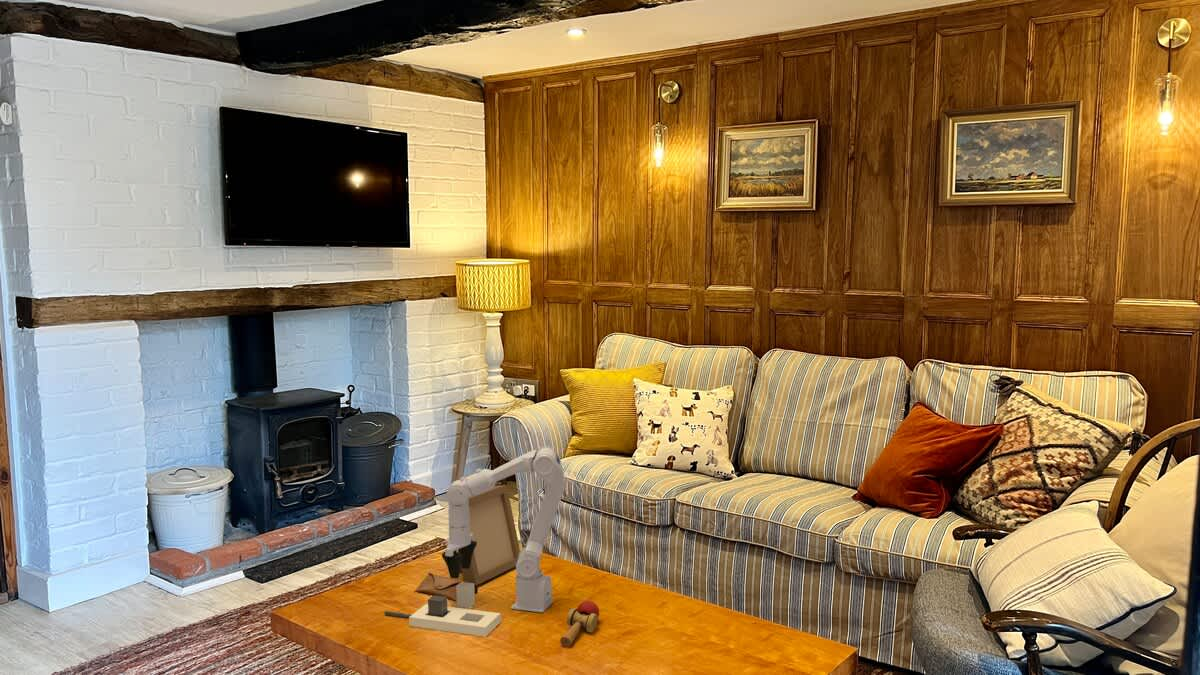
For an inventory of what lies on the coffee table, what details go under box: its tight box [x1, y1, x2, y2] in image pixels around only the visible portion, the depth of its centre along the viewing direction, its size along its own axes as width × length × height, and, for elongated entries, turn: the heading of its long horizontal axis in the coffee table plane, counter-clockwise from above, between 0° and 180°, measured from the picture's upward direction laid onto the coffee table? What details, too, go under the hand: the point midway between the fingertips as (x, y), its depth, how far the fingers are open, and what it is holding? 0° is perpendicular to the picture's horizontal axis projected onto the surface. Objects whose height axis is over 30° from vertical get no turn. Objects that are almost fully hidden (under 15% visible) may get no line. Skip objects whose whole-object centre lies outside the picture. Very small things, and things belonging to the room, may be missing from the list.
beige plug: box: [456, 582, 476, 609], centre depth 243 cm, size 4×3×6 cm
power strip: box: [384, 595, 502, 638], centre depth 232 cm, size 32×9×6 cm, turn 72°
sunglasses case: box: [413, 572, 479, 603], centre depth 253 cm, size 18×7×7 cm, turn 62°
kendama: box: [559, 600, 600, 648], centre depth 225 cm, size 8×6×18 cm
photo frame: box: [448, 484, 521, 586], centre depth 267 cm, size 15×22×25 cm
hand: (460, 573), depth 242 cm, fingers open, 7 cm apart
